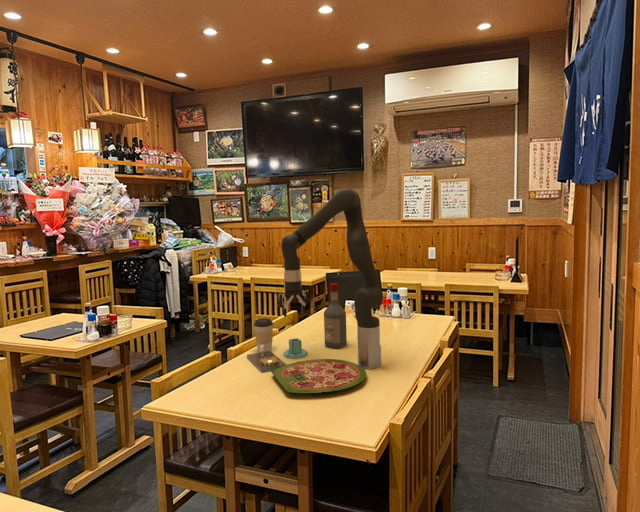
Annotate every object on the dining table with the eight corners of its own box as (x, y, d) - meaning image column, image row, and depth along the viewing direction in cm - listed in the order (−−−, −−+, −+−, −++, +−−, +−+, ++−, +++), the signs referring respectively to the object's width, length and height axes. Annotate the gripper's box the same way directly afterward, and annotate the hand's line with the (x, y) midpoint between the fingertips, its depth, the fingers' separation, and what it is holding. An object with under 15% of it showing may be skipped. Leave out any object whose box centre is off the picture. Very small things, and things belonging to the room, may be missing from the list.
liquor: (338, 349, 220) (336, 286, 217) (322, 346, 226) (320, 284, 222) (349, 344, 227) (347, 283, 224) (333, 341, 233) (331, 281, 229)
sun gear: (282, 364, 199) (282, 360, 199) (263, 367, 195) (263, 364, 195) (275, 358, 207) (275, 355, 206) (257, 361, 203) (257, 358, 203)
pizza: (267, 372, 195) (266, 366, 195) (344, 359, 207) (344, 354, 207) (292, 405, 163) (292, 398, 162) (382, 388, 175) (382, 382, 175)
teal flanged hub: (310, 356, 212) (309, 341, 211) (289, 360, 208) (288, 344, 207) (301, 350, 221) (300, 335, 220) (281, 353, 217) (280, 339, 216)
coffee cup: (251, 351, 221) (249, 320, 219) (262, 346, 229) (260, 316, 227) (267, 354, 217) (265, 322, 215) (278, 348, 225) (276, 317, 223)
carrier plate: (286, 368, 199) (286, 353, 198) (261, 372, 194) (260, 357, 193) (270, 353, 217) (269, 340, 217) (247, 357, 213) (246, 343, 212)
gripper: (280, 282, 204) (282, 319, 206) (310, 279, 210) (312, 314, 212) (274, 279, 211) (276, 315, 213) (304, 276, 217) (305, 311, 219)
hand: (294, 315), depth 213 cm, fingers open, 8 cm apart
